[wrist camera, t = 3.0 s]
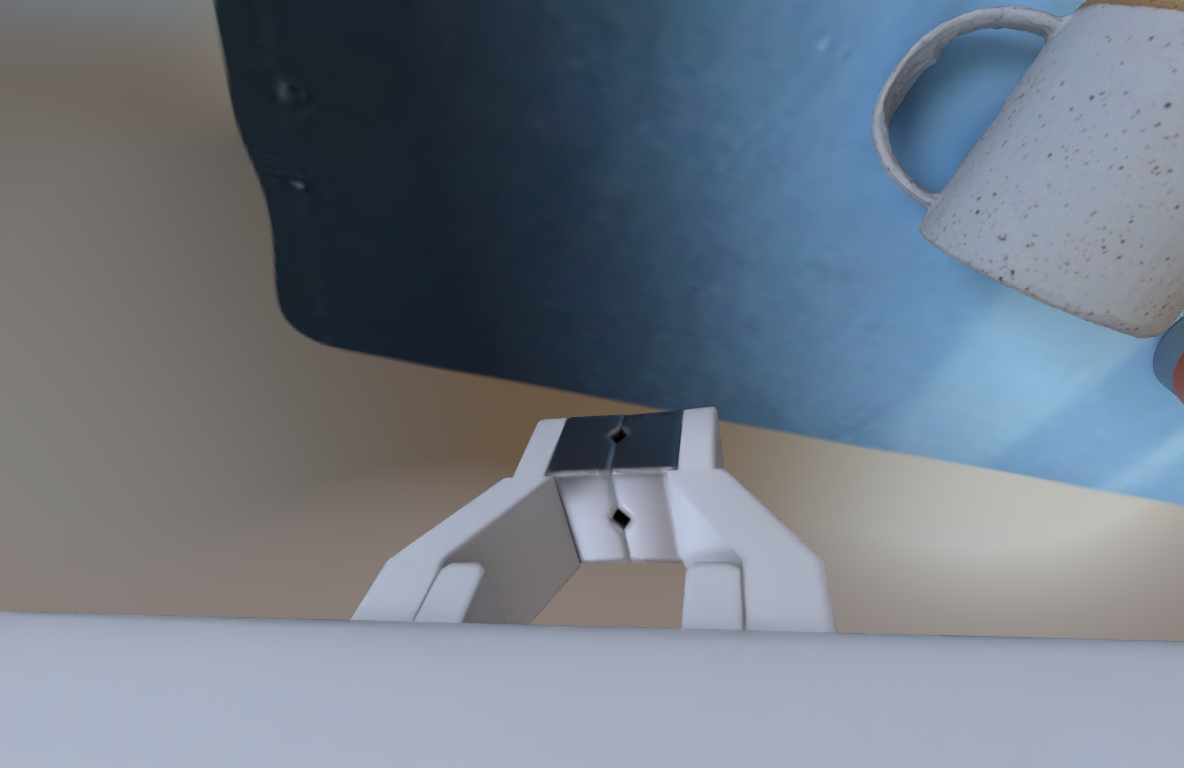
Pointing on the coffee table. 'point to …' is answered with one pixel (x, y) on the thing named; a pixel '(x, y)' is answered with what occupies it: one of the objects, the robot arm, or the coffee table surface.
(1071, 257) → the ceramic mug
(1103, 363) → the coffee table surface
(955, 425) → the coffee table surface
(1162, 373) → the food tin
